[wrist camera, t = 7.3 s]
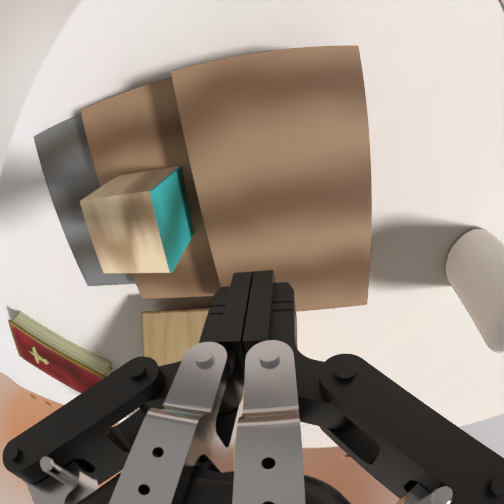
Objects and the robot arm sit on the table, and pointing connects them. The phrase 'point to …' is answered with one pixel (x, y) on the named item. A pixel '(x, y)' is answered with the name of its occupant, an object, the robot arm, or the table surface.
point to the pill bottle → (480, 282)
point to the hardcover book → (57, 354)
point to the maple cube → (140, 221)
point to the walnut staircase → (236, 172)
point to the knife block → (172, 335)
